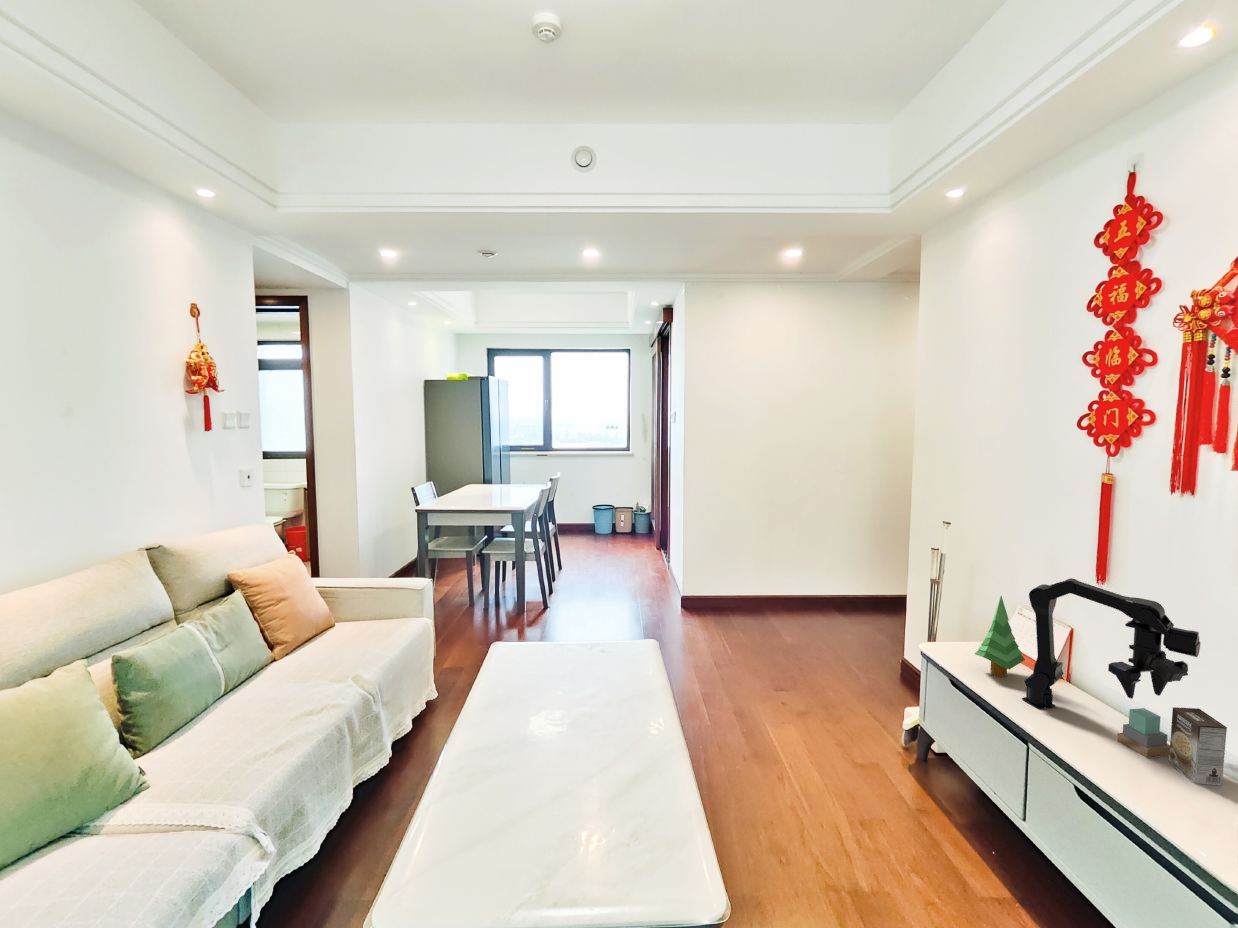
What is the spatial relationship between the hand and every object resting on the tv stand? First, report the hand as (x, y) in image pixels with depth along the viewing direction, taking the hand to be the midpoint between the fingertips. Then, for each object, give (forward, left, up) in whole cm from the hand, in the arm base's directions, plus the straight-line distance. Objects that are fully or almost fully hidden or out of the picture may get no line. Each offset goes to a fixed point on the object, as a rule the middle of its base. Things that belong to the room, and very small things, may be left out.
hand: (1143, 696), depth 160 cm
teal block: (+4, -4, -7) cm, 9 cm away
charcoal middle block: (+4, -4, -10) cm, 12 cm away
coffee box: (+16, -3, -13) cm, 21 cm away
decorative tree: (-42, -7, -13) cm, 45 cm away
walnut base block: (+4, -4, -13) cm, 14 cm away
